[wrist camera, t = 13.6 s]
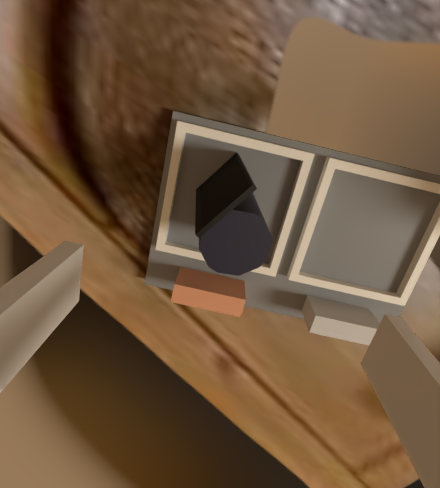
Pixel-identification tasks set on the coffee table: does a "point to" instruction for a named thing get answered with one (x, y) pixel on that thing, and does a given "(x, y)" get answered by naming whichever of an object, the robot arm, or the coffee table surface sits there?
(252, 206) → the speaker
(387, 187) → the dock board
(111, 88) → the coffee table surface
